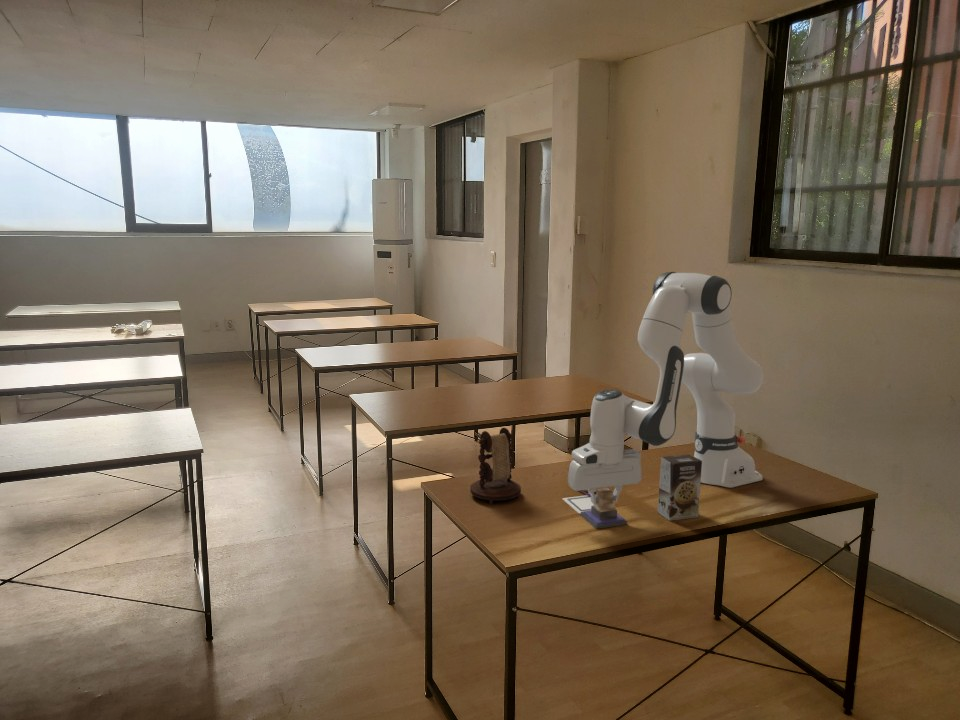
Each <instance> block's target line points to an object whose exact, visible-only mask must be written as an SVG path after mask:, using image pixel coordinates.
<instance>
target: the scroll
mask: <svg viewBox="0 0 960 720" xmlns="http://www.w3.org/2000/svg"><path fill="white" fill-rule="evenodd" d="M512 439H513V434H512V433H511V432H510V431H509V429H508V428H506V427H502V428H501V429H499V434H493V435H491V434H490V433H489V432H488V431H486V430H483V431H482V432H481V435H480V439H478V443H479V444H478V445H479V447H480V449H479V455H478V457H477V459H478V460H479V463H480V464H479V470H478V475H479V477H478V478H479V480H476V481H474V482H473V483H472V484H471V485H469V486H470V488H469V492H470V493H471V495H472V496H474V497H476V498H478V499H481V500H485V501H489V504H490V505H493V504H494V501H506V500H512V499H515V498H520V496H521V492H522V491H521V490H522V486H521V485H520V484H519V483H517V482H516V481H514V480H512V477H513V476H512V468H513V465H512V464H511V463H512V458H511V457H512V455H513V453H514V449H512V448H513V445H512V442H513V440H512ZM485 452H486V453H487V454H485ZM490 459H492V467H491V465H490V463H488V462H487V461H486V460H490Z"/></svg>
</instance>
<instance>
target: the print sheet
mask: <svg viewBox="0 0 960 720" xmlns="http://www.w3.org/2000/svg"><path fill="white" fill-rule="evenodd" d="M594 494H595V495H596V493H594ZM562 501H564V502H565V503H566V505H567V504H568V506H569V507H570V508H572V509H573V510H574V511H575V512H576V513H578V515H581V512H583V511H590V510H591V506H593V505H594V504H593V503H592V502H591V497H590V496H588V495H586V494H585V495H580V496H578V495H577V496H572V497H564V498H563V497H562Z"/></svg>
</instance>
